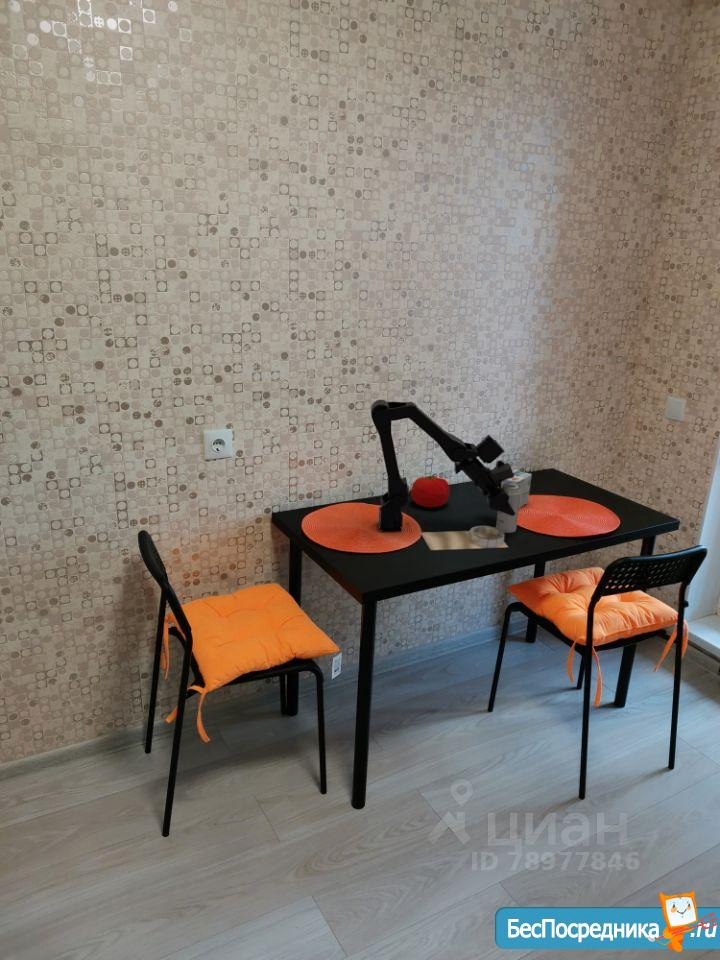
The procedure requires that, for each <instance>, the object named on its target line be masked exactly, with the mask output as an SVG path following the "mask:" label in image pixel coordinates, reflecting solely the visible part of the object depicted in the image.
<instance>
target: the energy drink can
mask: <svg viewBox="0 0 720 960" xmlns="http://www.w3.org/2000/svg"><path fill="white" fill-rule="evenodd" d="M502 488H504V490H505V491H506V492H507V493H508V495H509V499H508V502H509V504H510V505H511V507H512V509H513V510H514V512H515V515H514V516H511V515H508V514H506V513H503V512H500V511H497V516H496V522H495V523H496V524H495V528H498V529H500V530H502V531H503V533H506V534H507V533H508V534H509V533H514V532H516V531H517V524H518V517H519V509H520V508H519V501H520V493H521V492H520V490H519V486H518V485H516V484H512V483H505V484H503V487H502Z"/></svg>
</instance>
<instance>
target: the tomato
mask: <svg viewBox="0 0 720 960" xmlns="http://www.w3.org/2000/svg"><path fill="white" fill-rule="evenodd" d="M410 489H411V492H410V493H411V497H412V499H413V501H414V503H416V505H417V506H421V507H424V508H436V507H437V508H438V507H441V506H443V505H445V503H446V502H448V499H449V497H450V493H451V492H450V484H449V482H448V481H447V480H446V479H444V478H441V477H438V476H435V474H432V475H428V476H427V475H426V476H420V477H417V478H416V479H415V480H414V482H412V485H411V488H410Z"/></svg>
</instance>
